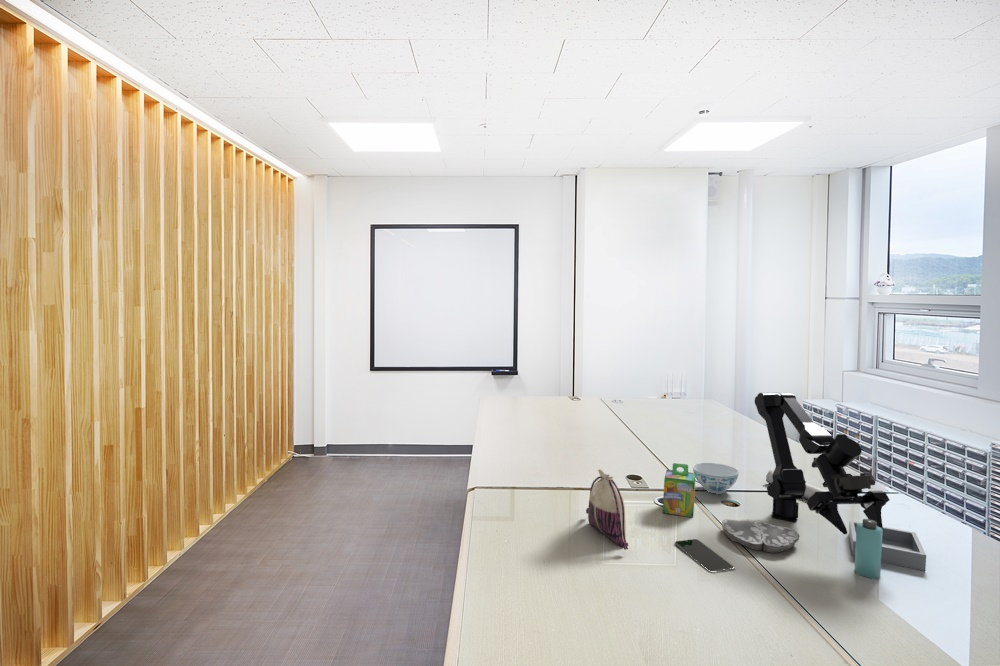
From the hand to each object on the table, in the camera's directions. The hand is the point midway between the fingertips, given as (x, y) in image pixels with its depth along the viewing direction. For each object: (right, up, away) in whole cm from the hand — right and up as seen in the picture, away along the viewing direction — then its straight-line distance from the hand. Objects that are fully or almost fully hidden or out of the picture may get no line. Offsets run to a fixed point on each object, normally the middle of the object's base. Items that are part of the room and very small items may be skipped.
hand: (863, 533), depth 130 cm
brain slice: (-18, -9, +16) cm, 25 cm away
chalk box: (-33, -7, +37) cm, 50 cm away
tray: (+13, -9, +10) cm, 18 cm away
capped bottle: (0, -9, -1) cm, 9 cm away
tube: (+14, -7, +52) cm, 54 cm away
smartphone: (-37, -9, +7) cm, 39 cm away
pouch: (-60, -8, +19) cm, 63 cm away
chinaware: (-14, -6, +55) cm, 57 cm away
